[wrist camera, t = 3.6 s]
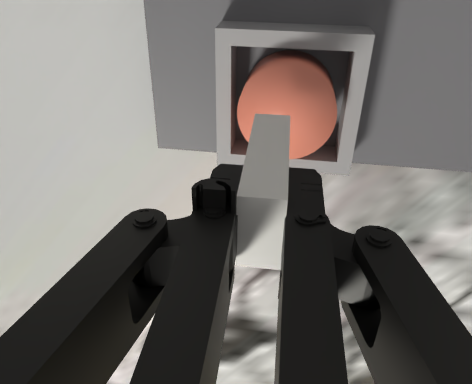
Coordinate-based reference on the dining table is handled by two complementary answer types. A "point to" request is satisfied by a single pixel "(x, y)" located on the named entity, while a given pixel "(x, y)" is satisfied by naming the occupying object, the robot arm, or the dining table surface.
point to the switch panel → (338, 65)
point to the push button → (291, 99)
